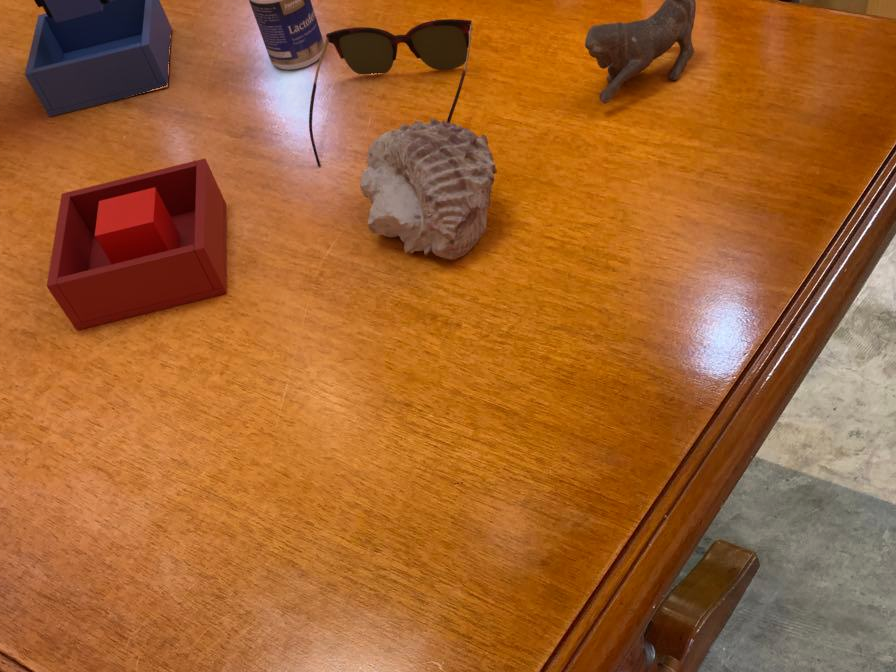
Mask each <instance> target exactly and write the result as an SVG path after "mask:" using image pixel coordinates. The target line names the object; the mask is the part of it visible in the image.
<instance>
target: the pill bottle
mask: <svg viewBox="0 0 896 672" xmlns="http://www.w3.org/2000/svg"><path fill="white" fill-rule="evenodd" d="M248 1H249V4H250V8H251V10H252V13H253V16H254V19H255V21H256V24H257V27H258V30H259V32H260V36H261V38H262V41H263V44H264V47H265V49H266V53H267V55H268V58H269V60H270V62H271V64H272V65H273V66H275V67H276V68H278V69H280V70H299V69H303V68H305V67H308V66H310V65H312V64H314V63H316V62H317V61H319V60H320V56H321V53H322V50H323V46H324V43H325V41H324V39H323V35H322V32H321V29H320V26H319V22H318V19H317V16H316V13H315V9H314V7H313V3H312V0H248Z"/></svg>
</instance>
